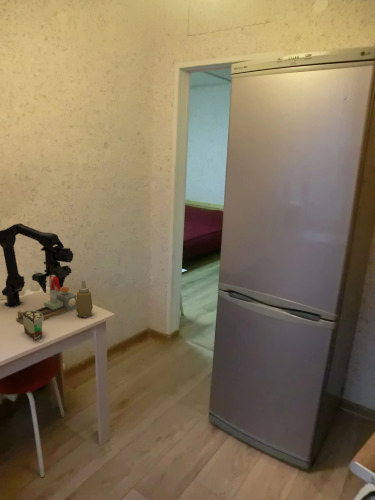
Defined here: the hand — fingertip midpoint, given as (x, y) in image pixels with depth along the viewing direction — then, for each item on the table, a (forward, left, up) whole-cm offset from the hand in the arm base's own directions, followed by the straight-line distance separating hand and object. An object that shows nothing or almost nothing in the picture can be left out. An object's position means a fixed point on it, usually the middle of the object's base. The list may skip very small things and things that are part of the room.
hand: (53, 290), depth 172 cm
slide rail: (0, -7, -12) cm, 13 cm away
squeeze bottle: (+15, +6, -12) cm, 20 cm away
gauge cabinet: (0, +7, -12) cm, 13 cm away
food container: (+14, -20, -12) cm, 27 cm away
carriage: (0, 0, -9) cm, 9 cm away
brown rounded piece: (0, +7, -5) cm, 9 cm away
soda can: (-17, +14, -12) cm, 25 cm away
